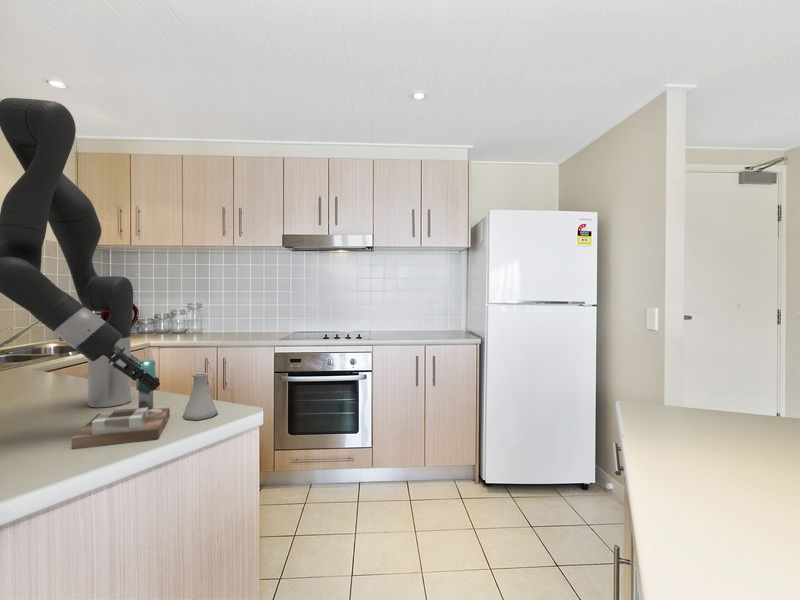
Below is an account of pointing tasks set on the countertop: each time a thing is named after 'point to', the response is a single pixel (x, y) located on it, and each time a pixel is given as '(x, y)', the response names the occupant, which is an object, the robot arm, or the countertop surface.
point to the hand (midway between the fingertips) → (156, 385)
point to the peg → (144, 391)
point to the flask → (200, 400)
